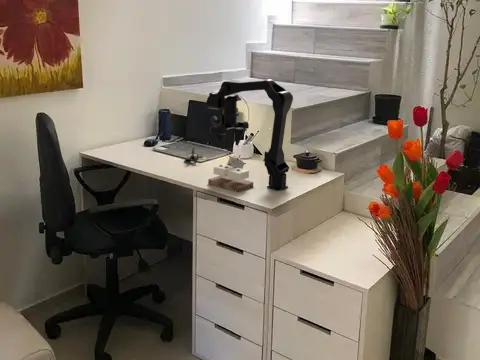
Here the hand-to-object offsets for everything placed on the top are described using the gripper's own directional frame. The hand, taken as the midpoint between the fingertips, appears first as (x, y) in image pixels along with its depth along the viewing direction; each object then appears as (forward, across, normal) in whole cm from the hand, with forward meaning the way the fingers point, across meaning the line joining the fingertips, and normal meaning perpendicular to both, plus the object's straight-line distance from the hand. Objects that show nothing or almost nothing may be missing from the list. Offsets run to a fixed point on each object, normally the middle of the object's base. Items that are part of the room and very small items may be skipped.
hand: (229, 147), depth 247 cm
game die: (+14, -7, -2) cm, 15 cm away
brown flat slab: (+14, +8, +8) cm, 18 cm away
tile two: (+9, +8, +4) cm, 13 cm away
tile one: (+10, +8, +12) cm, 17 cm away
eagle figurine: (+13, -6, -29) cm, 32 cm away
